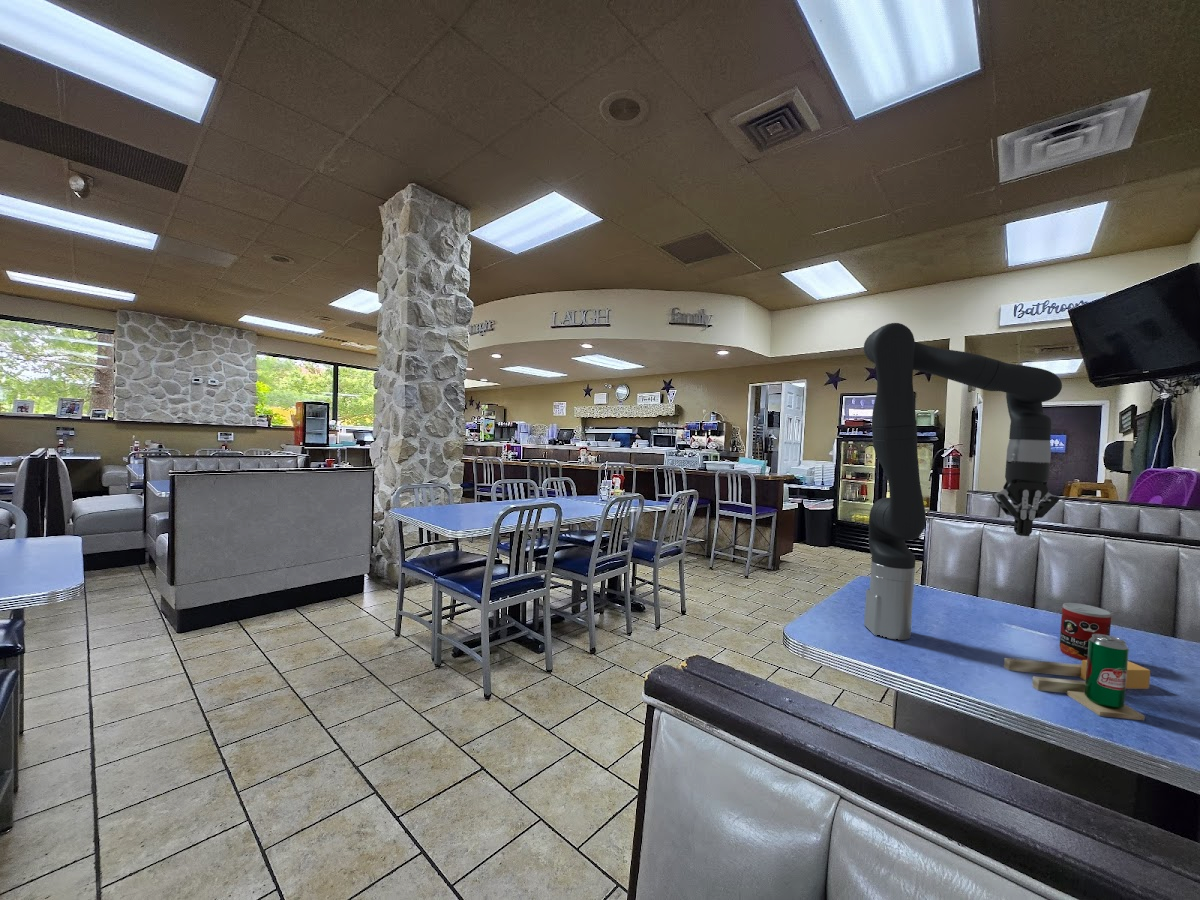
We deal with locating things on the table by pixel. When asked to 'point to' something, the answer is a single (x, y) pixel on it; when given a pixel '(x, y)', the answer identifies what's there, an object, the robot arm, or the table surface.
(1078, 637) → the canned food
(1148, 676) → the long wooden beam
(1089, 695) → the soda can
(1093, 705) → the coaster
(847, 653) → the table surface
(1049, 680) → the rails
